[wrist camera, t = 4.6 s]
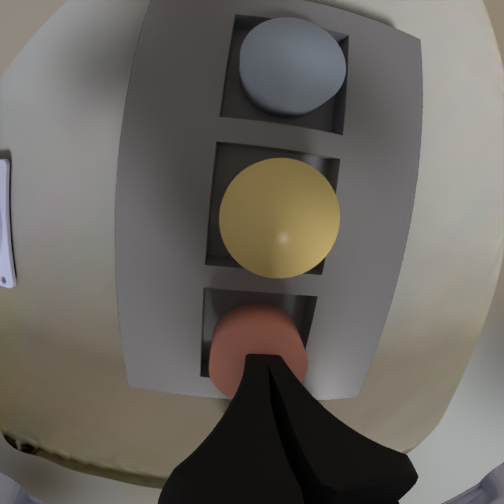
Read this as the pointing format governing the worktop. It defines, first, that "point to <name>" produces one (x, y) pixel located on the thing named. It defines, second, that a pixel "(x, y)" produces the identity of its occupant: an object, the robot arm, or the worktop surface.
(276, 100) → the slate button
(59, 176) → the worktop surface
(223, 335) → the brick button
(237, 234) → the ochre button
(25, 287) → the worktop surface
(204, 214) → the panel
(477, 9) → the worktop surface
